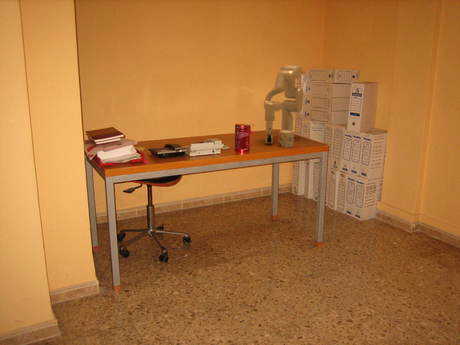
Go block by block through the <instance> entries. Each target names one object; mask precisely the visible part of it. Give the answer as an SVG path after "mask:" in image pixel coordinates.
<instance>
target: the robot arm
mask: <svg viewBox="0 0 460 345" xmlns="http://www.w3.org/2000/svg"><path fill="white" fill-rule="evenodd" d="M302 70H303V69H302V66H300V65H295V64H293V65H292V64H284V65H281V67H280V70H279V71H278V72H277V75H276V79H275V82H274V86H273V87H272V89H271V90H270V91H269V92H268V93H267V94H266V96H265V99H264V103H263V108H264V121H265V134H266V135H268V137H267V142H268V143H267V144H272V143H271V135H273V128H274V126H273V125H274V122H275V119H276V118H275V115H276V114H275V113H276V112H280V111H281V126H280V127H281V128H280V131H283V130H288V131H292V132H294V131H293V129H294V128H293V127H294V115H293V113H301V112H302V110H303V105H304V102H303V101H304V89H303V88H302V87H297V86H296V80H297V79H298V78H299V77H300V76H301V75H302ZM283 92H284V93H283ZM282 93H283V94H284V97H285V98H286V99H285V100H283V101H274V100H272V98H273V97H274V96H277V95H279V94H282Z"/></svg>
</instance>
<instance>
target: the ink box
mask: <svg viewBox="0 0 460 345" xmlns="http://www.w3.org/2000/svg"><path fill="white" fill-rule="evenodd" d="M294 139H295V131H288V130H283V131H281V130H280V131H278V144H277V146H278V147H281V148H287V149H288V148H292V147H294Z"/></svg>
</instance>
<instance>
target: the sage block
mask: <svg viewBox="0 0 460 345" xmlns="http://www.w3.org/2000/svg"><path fill="white" fill-rule="evenodd" d="M267 137H268V135H267V134H266V135H265V143H266V144H269V143H268V142H267ZM273 138H274V137H273V134H271V143H270V144H273Z"/></svg>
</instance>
